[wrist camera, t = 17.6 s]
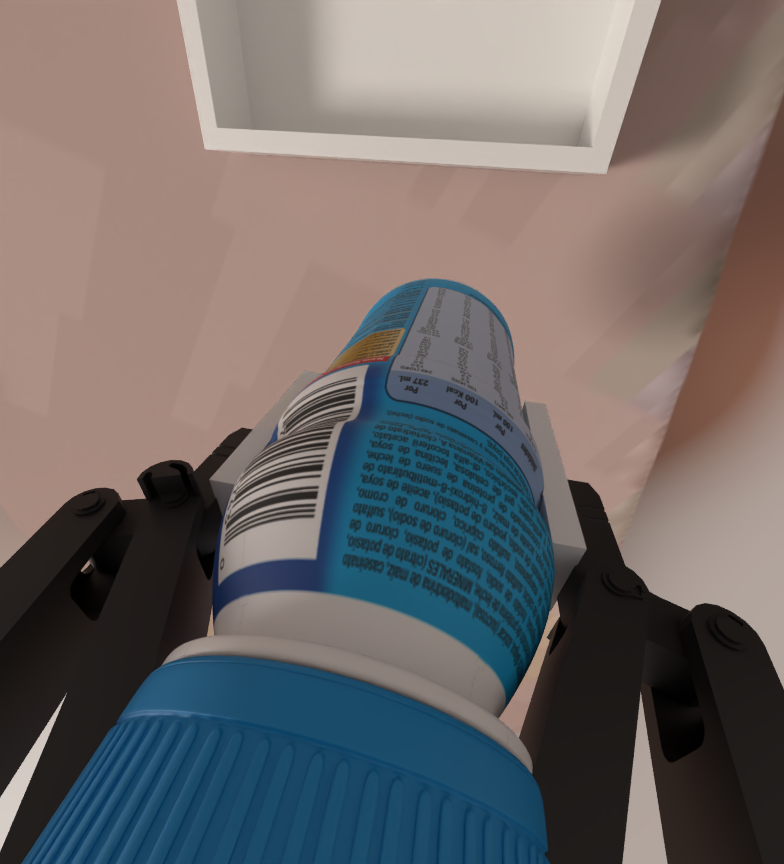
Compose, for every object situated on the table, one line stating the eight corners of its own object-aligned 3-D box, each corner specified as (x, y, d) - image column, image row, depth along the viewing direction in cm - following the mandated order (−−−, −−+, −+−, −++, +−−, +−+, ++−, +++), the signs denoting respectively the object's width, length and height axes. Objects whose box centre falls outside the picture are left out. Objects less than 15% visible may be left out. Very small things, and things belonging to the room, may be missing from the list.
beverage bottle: (539, 288, 17) (1399, 1974, 1) (489, 432, 22) (514, 1114, 6) (364, 257, 18) (-650, 1021, 2) (354, 403, 23) (60, 949, 7)
